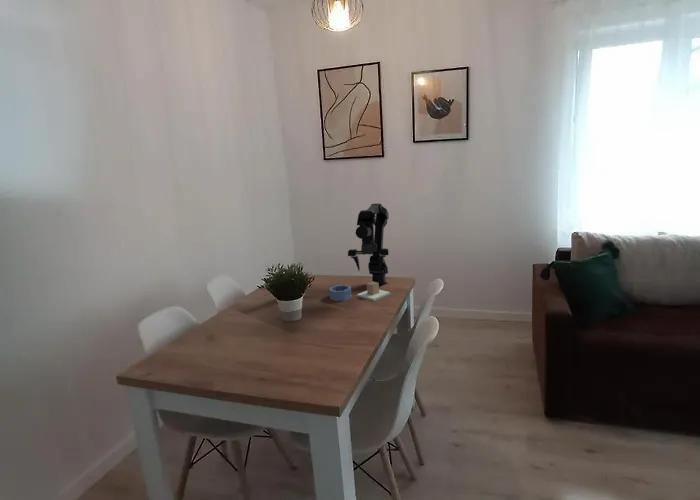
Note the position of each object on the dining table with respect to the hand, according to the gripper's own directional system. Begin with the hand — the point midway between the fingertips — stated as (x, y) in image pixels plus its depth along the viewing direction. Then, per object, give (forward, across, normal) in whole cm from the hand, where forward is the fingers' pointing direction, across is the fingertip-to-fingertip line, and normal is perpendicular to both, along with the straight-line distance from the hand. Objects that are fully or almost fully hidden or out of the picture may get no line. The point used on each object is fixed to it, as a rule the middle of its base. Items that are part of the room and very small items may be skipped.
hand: (368, 270), depth 214 cm
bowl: (+13, -14, +2) cm, 19 cm away
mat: (+12, +2, +3) cm, 13 cm away
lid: (+12, +2, +3) cm, 12 cm away
